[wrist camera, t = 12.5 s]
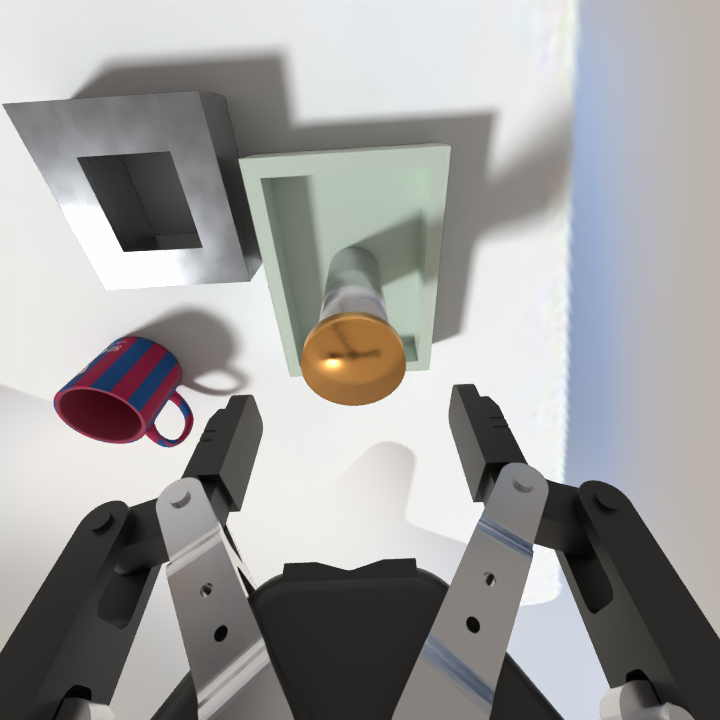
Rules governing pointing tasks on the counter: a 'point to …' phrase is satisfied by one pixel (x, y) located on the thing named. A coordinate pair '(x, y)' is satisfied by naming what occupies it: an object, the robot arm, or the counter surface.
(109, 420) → the mug
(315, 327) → the pin
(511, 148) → the counter surface
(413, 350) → the tray
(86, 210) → the block
